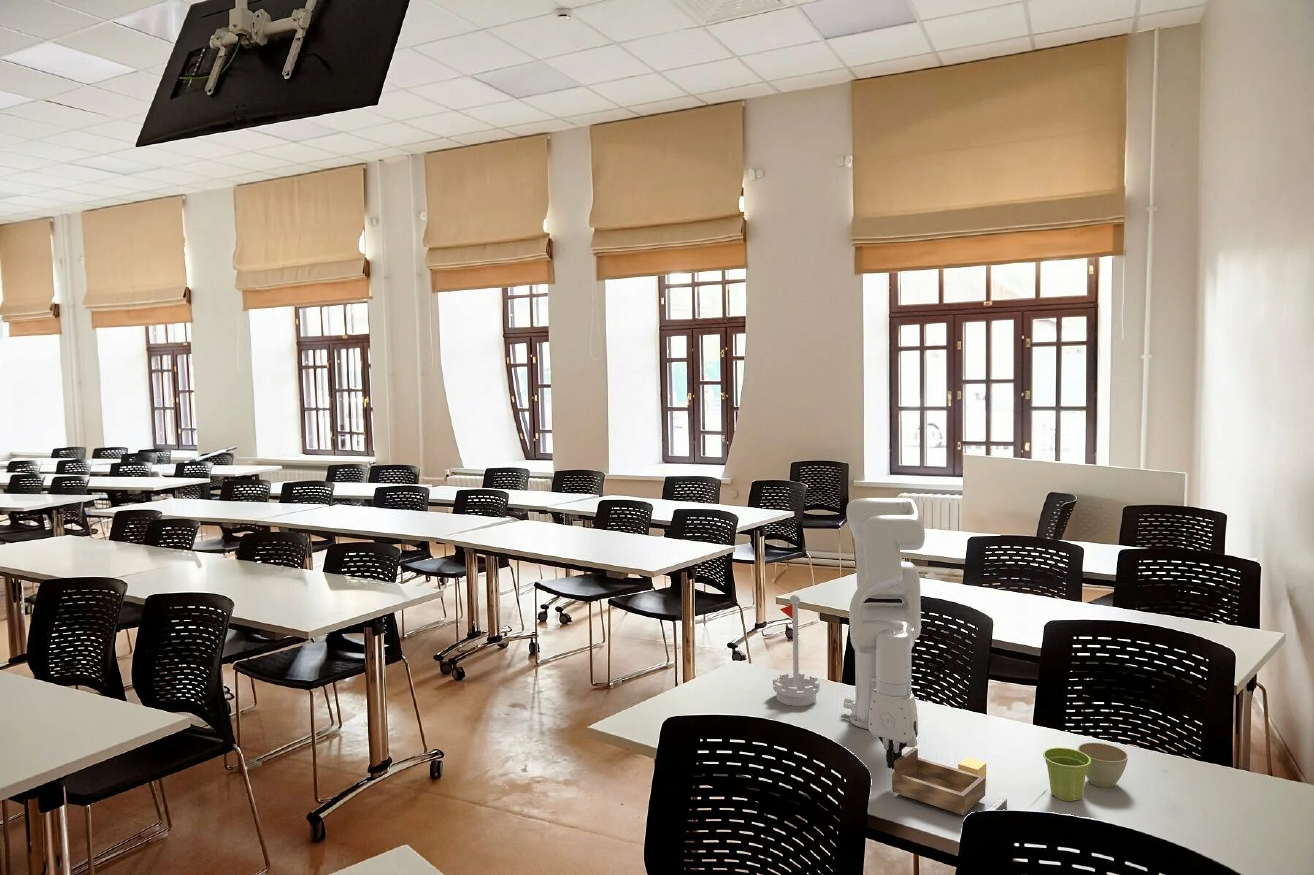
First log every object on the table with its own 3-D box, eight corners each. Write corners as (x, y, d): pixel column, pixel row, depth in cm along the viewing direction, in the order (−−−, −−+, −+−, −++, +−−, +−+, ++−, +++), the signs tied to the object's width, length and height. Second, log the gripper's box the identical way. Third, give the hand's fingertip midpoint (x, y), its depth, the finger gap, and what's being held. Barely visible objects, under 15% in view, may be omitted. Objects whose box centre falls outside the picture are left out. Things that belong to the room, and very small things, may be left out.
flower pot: (1107, 797, 197) (1108, 765, 196) (1067, 779, 205) (1067, 748, 205) (1137, 786, 201) (1138, 755, 201) (1097, 769, 210) (1097, 738, 209)
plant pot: (1087, 809, 191) (1087, 769, 191) (1039, 799, 196) (1039, 760, 196) (1092, 791, 199) (1093, 753, 199) (1046, 781, 204) (1047, 744, 204)
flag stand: (828, 697, 259) (827, 593, 256) (803, 711, 249) (802, 603, 246) (789, 687, 267) (788, 586, 265) (764, 700, 257) (762, 595, 255)
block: (958, 783, 205) (958, 764, 204) (966, 776, 208) (967, 757, 208) (977, 789, 202) (977, 769, 201) (986, 782, 205) (986, 763, 205)
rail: (862, 789, 203) (862, 779, 203) (887, 772, 211) (886, 762, 211) (985, 830, 184) (985, 819, 184) (1006, 810, 192) (1006, 799, 192)
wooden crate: (892, 797, 198) (892, 762, 197) (915, 779, 206) (915, 746, 205) (963, 820, 187) (963, 784, 187) (985, 801, 195) (985, 766, 195)
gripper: (855, 683, 204) (855, 763, 206) (917, 699, 194) (917, 782, 195) (872, 674, 210) (872, 752, 211) (933, 689, 199) (933, 770, 201)
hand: (894, 766), depth 203 cm, fingers closed
